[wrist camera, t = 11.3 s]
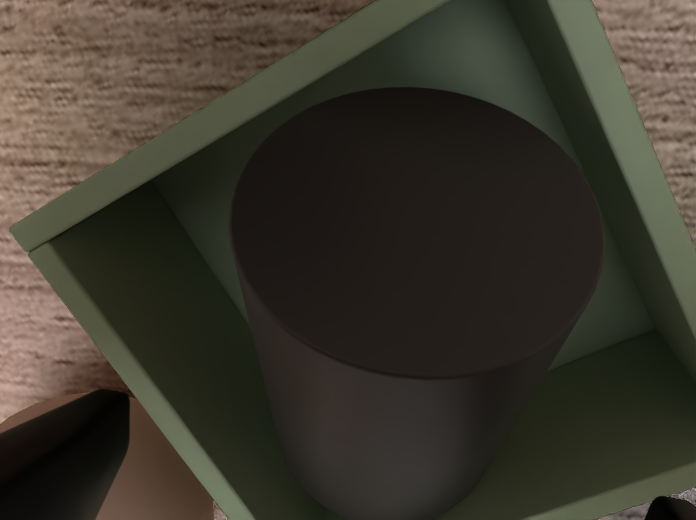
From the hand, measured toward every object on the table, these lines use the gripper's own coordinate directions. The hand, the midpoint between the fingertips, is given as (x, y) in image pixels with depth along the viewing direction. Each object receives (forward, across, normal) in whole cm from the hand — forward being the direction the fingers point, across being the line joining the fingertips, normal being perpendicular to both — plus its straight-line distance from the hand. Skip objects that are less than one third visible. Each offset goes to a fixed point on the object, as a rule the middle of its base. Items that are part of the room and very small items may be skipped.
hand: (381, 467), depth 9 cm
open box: (+9, 0, 0) cm, 9 cm away
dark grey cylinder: (+6, 0, +3) cm, 7 cm away
